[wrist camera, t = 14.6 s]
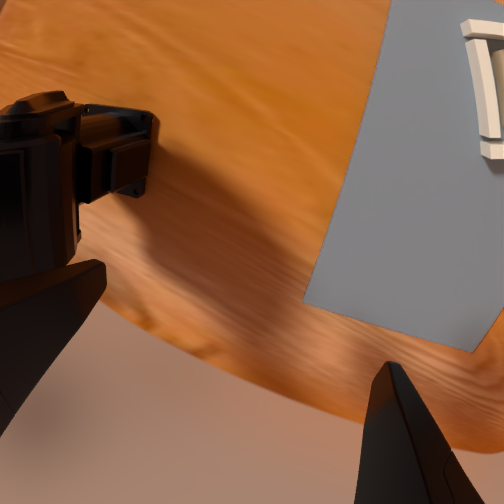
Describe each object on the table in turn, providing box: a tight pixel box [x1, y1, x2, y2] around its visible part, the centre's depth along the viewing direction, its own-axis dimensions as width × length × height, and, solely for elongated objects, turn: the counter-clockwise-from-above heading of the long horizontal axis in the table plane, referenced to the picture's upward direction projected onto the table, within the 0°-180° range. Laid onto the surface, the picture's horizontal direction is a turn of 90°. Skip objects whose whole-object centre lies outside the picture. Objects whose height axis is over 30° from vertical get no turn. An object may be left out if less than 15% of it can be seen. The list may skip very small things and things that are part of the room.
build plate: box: [302, 0, 504, 353], centre depth 16 cm, size 15×24×1 cm, turn 167°
